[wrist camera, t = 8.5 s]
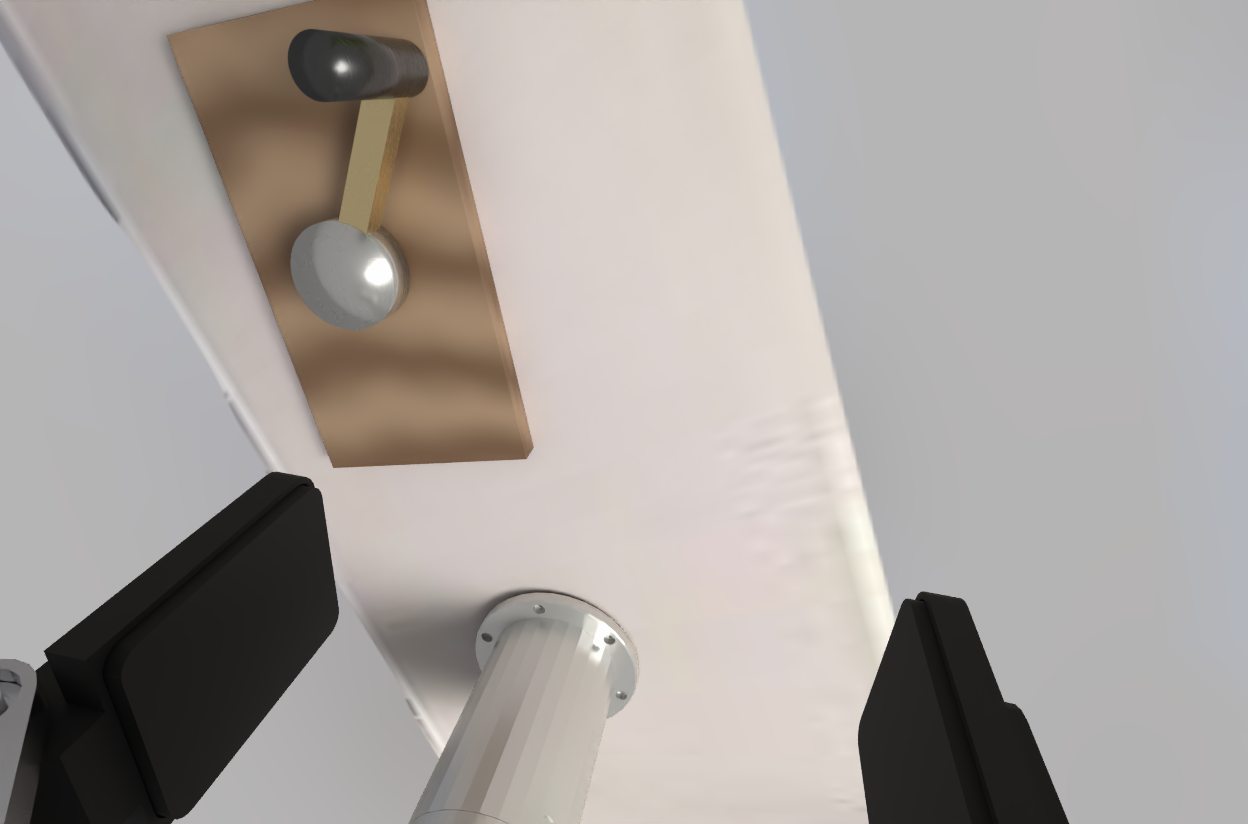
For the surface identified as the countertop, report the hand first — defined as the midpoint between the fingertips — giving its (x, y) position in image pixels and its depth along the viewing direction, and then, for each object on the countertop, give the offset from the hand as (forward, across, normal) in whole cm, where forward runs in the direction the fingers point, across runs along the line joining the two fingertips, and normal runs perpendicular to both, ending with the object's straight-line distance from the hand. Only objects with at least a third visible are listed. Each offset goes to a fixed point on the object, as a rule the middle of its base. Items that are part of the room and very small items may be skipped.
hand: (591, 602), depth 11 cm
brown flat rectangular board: (+28, +20, +4) cm, 35 cm away
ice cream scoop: (+26, +18, -1) cm, 32 cm away
